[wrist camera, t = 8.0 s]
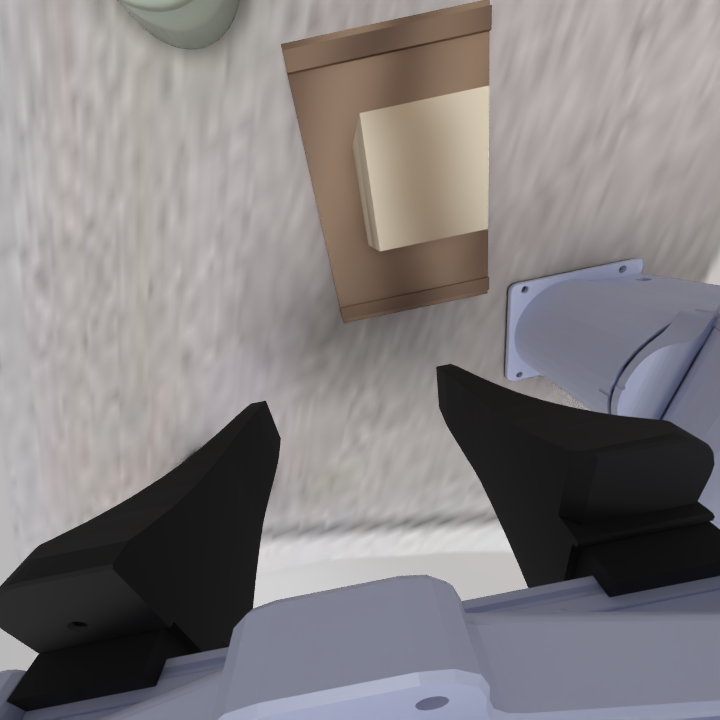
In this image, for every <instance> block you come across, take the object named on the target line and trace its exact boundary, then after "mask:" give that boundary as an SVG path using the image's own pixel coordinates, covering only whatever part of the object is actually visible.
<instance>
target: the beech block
mask: <svg viewBox="0 0 720 720" xmlns="http://www.w3.org/2000/svg"><path fill="white" fill-rule="evenodd" d="M352 148H353V154H354V160H355V166H356V173H357V179H358V185H359V191H360V197H361V203H362V209H363V215H364V221H365V227H366V233H367V240H368V245H369V246H371V247H373V248H375V249H376V250H378V251H385V250H390V249H394V248H399V247H404V246H409V245H413V244H418V243H423V242H428V241H432V240H437V239H442V238H447V237H451V236H456V235H461V234H466V233H471V232H475V231H480V230H485V229H488V182H489V86H484V87H480V88H475V89H470V90H466V91H461V92H456V93H452V94H447V95H442V96H438V97H433V98H428V99H424V100H419V101H414V102H410V103H405V104H400V105H396V106H391V107H386V108H382V109H377V110H372V111H368V112H363V113H359V118H358V123H357V127H356V132H355V136H354V141H353V146H352Z"/></svg>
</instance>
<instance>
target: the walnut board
mask: <svg viewBox="0 0 720 720" xmlns="http://www.w3.org/2000/svg"><path fill="white" fill-rule="evenodd" d="M491 24H492V5H490V0H482V1H477V2H473V3H468V4H463V5H459V6H454V7H450V8H445V9H440V10H436V11H431V12H427V13H422V14H417V15H413V16H408V17H404V18H399V19H394V20H390V21H385V22H381V23H376V24H371V25H367V26H362V27H358V28H353V29H348V30H344V31H339V32H335V33H330V34H325V35H321V36H316V37H312V38H307V39H303V40H298V41H293V42H289V43H284V44H281V47H282V52H283V56H284V61H285V65H286V70H287V74H288V78H289V82H290V87H291V91H292V96H293V100H294V105H295V109H296V113H297V118H298V122H299V127H300V131H301V136H302V140H303V145H304V149H305V153H306V158H307V162H308V167H309V171H310V176H311V180H312V185H313V189H314V193H315V198H316V202H317V207H318V211H319V216H320V220H321V224H322V229H323V233H324V238H325V242H326V247H327V251H328V256H329V260H330V264H331V269H332V273H333V278H334V282H335V287H336V291H337V296H338V300H339V304H340V309H341V314H342V318H343V322H344V323H347V322H352V321H356V320H361V319H366V318H371V317H376V316H380V315H385V314H390V313H395V312H400V311H404V310H409V309H414V308H419V307H424V306H428V305H433V304H438V303H443V302H448V301H452V300H457V299H462V298H467V297H472V296H476V295H481V294H486V293H487V290H489V277H488V229H485V230H480V231H475V232H471V233H466V234H461V235H456V236H451V237H447V238H442V239H437V240H432V241H428V242H423V243H418V244H413V245H409V246H404V247H399V248H394V249H390V250H385V251H378V250H376V249H375V248H373V247H371V246H369V245H368V240H367V233H366V227H365V221H364V215H363V209H362V203H361V197H360V191H359V185H358V179H357V173H356V166H355V160H354V154H353V148H352V146H353V141H354V136H355V132H356V127H357V123H358V118H359V113H363V112H368V111H372V110H377V109H382V108H386V107H391V106H396V105H400V104H405V103H410V102H414V101H419V100H424V99H428V98H433V97H438V96H442V95H447V94H452V93H456V92H461V91H466V90H470V89H475V88H480V87H484V86H489V31H490V30H491Z"/></svg>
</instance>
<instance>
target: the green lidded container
mask: <svg viewBox="0 0 720 720" xmlns="http://www.w3.org/2000/svg"><path fill="white" fill-rule="evenodd" d="M118 1H119V2H120V3H121V4H122V5H123V6H124V7H125V9H126V10H127V11H128V12H129V13H130V14H131V15H132V16H133V17H134V18H135V19H136V20H137V21H138V22H139V23H140V24H141V25H142V26H143V27H144V28H145V29H146V30H147V31H148V32H150V33H151V34H152V35H154V36H155V37H157V38H158V39H160V40H161V41H163V42H165V43H168V44H170V45H172V46H175V47H178V48H184V49H199V48H204V47H206V46H209V45H211V44H213V43H214V42H216V41H217V40H218V39H220V38H221V37H222V36H223V35H224V33H225V32H226V31H227V30H228V28H229V27H230V25H231V23H232V21H233V19H234V16H235V14H236V11H237V8H238V4H239V0H118Z"/></svg>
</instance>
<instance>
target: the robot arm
mask: <svg viewBox="0 0 720 720" xmlns="http://www.w3.org/2000/svg"><path fill="white" fill-rule="evenodd" d="M620 267H621V270H620V271H619V269H620ZM642 268H643V261H642V260H641V259H629V260H624V261H620V262H615V263H610V264H605V265H600V266H596V267H591V268H586V269H581V270H576V271H572V272H567V273H562V274H557V275H552V276H548V277H543V278H538V279H533V280H528V281H524V282H519V283H515V284H513V285H511V286H510V288H509V291H508V312H507V338H506V363H505V377H506V378H507V379H508V380H509V381H515V380H520V379H525V378H530V377H535V376H540V375H543V376H544V377H545V378H547V379H548V380H550V381H551V382H552V383H554V384H555V385H556V386H558V387H559V388H561V389H562V390H563V391H565V392H566V393H568V394H569V395H570V396H572V397H573V398H575V399H576V400H577V401H579V402H580V403H582V404H583V405H584V406H586V407H587V408H588V409H590V410H591V411H588V410H583V409H577V408H573V407H568V406H564V405H559V404H555V403H551V402H547V401H543V400H540V399H537V398H533V397H530V396H527V395H523V394H521V393H518V392H515V391H512V390H510V389H507V388H504V387H502V386H499V385H497V384H494V383H492V382H490V381H487V380H485V379H483V378H481V377H479V376H476V375H474V374H472V373H470V372H468V371H466V370H464V369H462V368H459V367H457V366H455V365H452V364H448V365H443V366H438V367H436V369H437V383H438V398H439V408H440V410H441V413H442V415H443V417H444V420H445V422H446V424H447V426H448V428H449V430H450V431H451V433H452V435H453V436H454V438H455V440H456V441H457V443H458V445H459V446H460V448H461V449H462V451H463V453H464V454H465V456H466V457H467V459H468V461H469V462H470V464H471V466H472V467H473V469H474V470H475V472H476V474H477V476H478V478H479V479H480V481H481V483H482V485H483V487H484V489H485V491H486V493H487V496H488V498H489V500H490V502H491V504H492V506H493V508H494V510H495V512H496V515H497V517H498V519H499V521H500V523H501V525H502V528H503V530H504V532H505V534H506V537H507V539H508V541H509V543H510V546H511V548H512V550H513V553H514V555H515V557H516V559H517V562H518V564H519V566H520V569H521V571H522V574H523V576H524V579H525V581H526V583H527V586H528V588H527V589H522V590H518V591H512V592H507V593H502V594H497V595H491V596H486V597H481V598H476V599H471V600H466V601H461V599H460V597H459V596H458V594H457V592H456V591H455V589H454V587H453V586H452V585H451V584H449V583H447V582H445V581H442V580H440V579H436V578H434V577H431V576H428V575H413V576H412V575H411V576H397V577H393V578H387V579H382V580H377V581H372V582H367V583H362V584H357V585H352V586H347V587H341V588H336V589H332V590H326V591H321V592H317V593H311V594H306V595H301V596H296V597H291V598H286V599H280V600H276V601H273V602H270V603H268V604H265V605H262V606H259V607H257V608H254V609H253V601H254V591H255V580H256V572H257V564H258V555H259V548H260V541H261V534H262V527H263V521H264V517H265V512H266V508H267V504H268V500H269V496H270V492H271V488H272V485H273V481H274V477H275V473H276V468H277V464H278V459H279V451H280V440H281V438H280V436H279V433H278V431H277V428H276V426H275V423H274V421H273V418H272V415H271V413H270V410H269V408H268V405H267V403H266V401H262V402H257V403H252V404H250V405H249V406H248V407H246V408H245V409H244V410H243V411H242V412H241V413H240V414H238V415H237V416H236V417H235V418H234V419H233V420H232V421H231V422H230V423H229V424H228V425H227V426H225V427H224V428H223V429H222V430H221V431H220V432H219V433H218V434H217V435H216V436H214V437H213V438H212V439H211V440H210V441H209V442H207V443H206V444H205V445H204V446H203V447H202V448H200V449H199V450H198V451H197V452H196V453H194V454H193V455H192V456H191V457H189V458H188V459H187V460H186V461H184V462H183V463H182V464H180V465H179V466H177V467H176V468H175V469H173V470H172V471H171V472H169V473H168V474H166V475H165V476H163V477H162V478H160V479H159V480H157V481H156V482H154V483H153V484H151V485H150V486H148V487H146V488H145V489H143V490H142V491H140V492H139V493H137V494H136V495H134V496H132V497H131V498H129V499H127V500H125V501H124V502H122V503H120V504H119V505H117V506H115V507H113V508H111V509H110V510H108V511H106V512H104V513H102V514H101V515H99V516H97V517H95V518H93V519H91V520H89V521H88V522H86V523H84V524H82V525H80V526H78V527H76V528H74V529H72V530H70V531H68V532H66V533H64V534H62V535H60V536H58V537H56V538H54V539H52V540H49V541H47V542H45V543H43V544H41V545H39V546H38V547H37V548H36V549H35V550H34V551H33V552H32V553H31V554H30V555H29V556H28V557H27V558H26V559H25V560H24V561H23V562H22V563H21V565H20V566H19V567H18V568H17V569H16V570H15V571H14V572H13V573H12V574H11V575H10V577H9V578H8V579H7V580H6V581H5V582H4V583H3V584H2V585H1V586H0V628H1V629H3V630H4V631H6V632H7V633H9V634H10V635H12V636H13V637H15V638H16V639H18V640H19V641H21V642H22V643H24V644H25V645H27V646H28V647H30V648H31V649H33V650H34V651H36V652H37V653H39V655H38V656H37V657H36V659H35V660H34V662H33V663H32V665H31V666H30V668H29V669H28V670H27V671H22V670H6V671H1V672H0V720H720V286H719V285H713V284H706V283H700V282H693V281H687V280H680V279H674V278H667V277H661V276H654V275H648V274H641V272H642ZM524 286H525V290H524V291H523V292H521V290H522V288H523V287H524ZM518 372H520V373H519V374H518V375H517V373H518Z"/></svg>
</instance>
